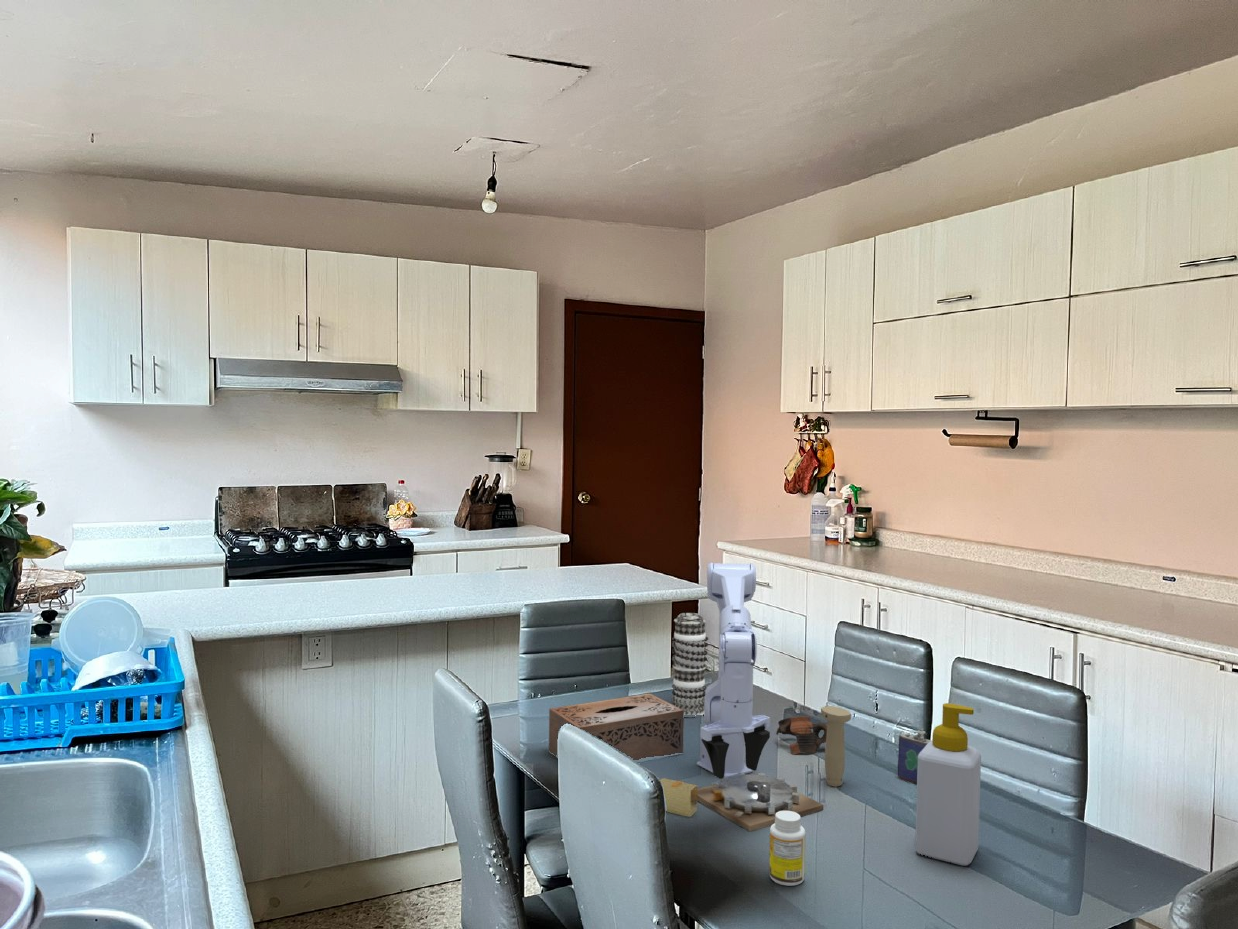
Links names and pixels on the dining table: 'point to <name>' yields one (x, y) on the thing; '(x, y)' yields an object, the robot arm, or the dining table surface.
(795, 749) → the pottery mug
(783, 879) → the supplement bottle
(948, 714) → the soap bottle
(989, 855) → the dining table surface
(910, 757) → the flask
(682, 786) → the yellow block
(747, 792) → the sprocket
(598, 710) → the tissue box cover
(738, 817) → the sprocket base
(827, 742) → the handle
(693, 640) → the decorative candle
